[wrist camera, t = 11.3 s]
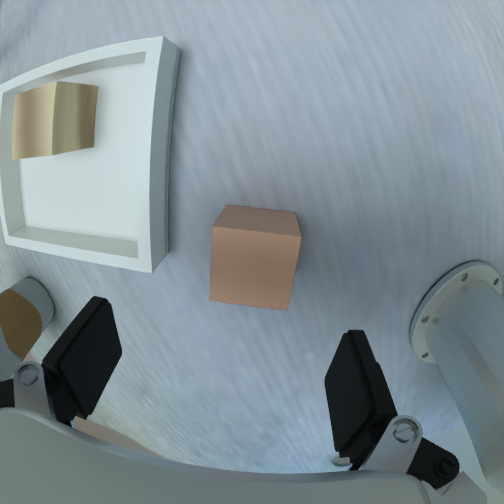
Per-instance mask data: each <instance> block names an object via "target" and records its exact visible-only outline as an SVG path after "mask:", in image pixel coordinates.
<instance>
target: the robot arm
mask: <svg viewBox="0 0 504 504" xmlns="http://www.w3.org/2000/svg"><path fill="white" fill-rule="evenodd" d="M502 293H503V287H502V280H501V277H500V275H499V273H498V272H497V271H496V270H495V269H494V268H493V267H492V266H491V265H489V264H488V263H486V262H481V261H474V262H469V263H466V264H463V265H461V266H459V267H457V268H455V269H454V270H452V271H451V272H449V273H448V274H447V275H445V276H444V277H443V278H442V279H441V280H440V281H439V282H438V283H437V284H436V285H435V286H434V287H433V288H432V289H431V290H430V292H429V293H428V294H427V295H426V297H425V298H424V300H423V301H422V303H421V304H420V306H419V308H418V310H417V312H416V314H415V315H414V318H413V321H412V324H411V328H410V344H411V347H412V349H413V351H414V353H415V355H416V356H417V357H418V358H419V359H420V360H421V361H424V362H426V363H436V364H437V365H438V367H439V369H440V371H441V373H442V375H443V377H444V379H445V381H446V383H447V385H448V387H449V390H450V392H451V394H452V396H453V398H454V400H455V402H456V405H457V407H458V409H459V411H460V414H461V416H462V418H463V421H464V423H465V426H466V428H467V430H468V433H469V435H470V438H471V441H472V443H473V446H474V449H475V452H476V454H477V457H478V460H479V463H480V466H481V469H482V472H483V474H484V476H485V479H486V480H487V482H488V483H489V484H490V485H491V486H492V487H493V488H494V489H495V490H497V491H499V492H500V493H502V494H504V298H503V297H502ZM121 355H122V347H121V344H120V340H119V336H118V332H117V328H116V324H115V319H114V315H113V310H112V306H111V304H110V303H109V302H108V300H107V299H106V298H102V297H97V296H93V297H92V298H91V299H90V301H89V302H88V303H87V304H86V305H85V307H84V308H83V309H82V310H81V311H80V313H79V314H78V315H77V316H76V317H75V319H74V320H73V321H72V322H71V324H70V325H69V326H68V327H67V329H66V330H65V331H64V332H63V334H62V335H61V336H60V337H59V339H58V340H57V341H56V343H55V344H54V345H53V347H52V348H51V349H50V351H49V352H48V353H47V355H46V356H45V357H44V359H43V360H42V361H43V363H42V364H41V365H40V364H39V363H37V362H34V361H26V362H24V363H22V364H20V365H19V366H18V367H17V368H16V370H15V372H14V376H13V378H12V379H9V380H5V381H1V382H0V504H487V496H486V495H485V493H484V492H483V491H482V490H481V489H480V488H479V487H478V486H477V485H476V484H475V483H474V482H473V481H472V480H471V479H470V478H469V477H468V476H467V475H466V473H464V471H463V472H461V473H460V472H459V462H458V459H457V458H456V456H455V455H453V454H452V453H450V452H448V451H446V450H444V449H443V448H441V447H439V446H437V445H435V444H434V443H432V442H430V441H428V440H427V439H425V438H423V437H422V435H423V431H422V427H421V425H420V423H419V422H418V421H417V420H416V419H415V418H413V417H411V416H408V415H399V416H398V414H397V411H396V408H395V405H394V402H393V399H392V397H391V394H390V391H389V388H388V385H387V383H386V380H385V377H384V374H383V372H382V369H381V367H380V365H379V363H378V362H376V360H375V358H374V355H373V352H372V350H371V347H370V345H369V342H368V340H367V337H366V335H365V332H364V331H363V330H349V331H348V332H347V333H344V334H343V336H342V338H341V341H340V343H339V346H338V348H337V351H336V353H335V355H334V358H333V360H332V362H331V365H330V367H329V369H328V372H327V374H326V376H325V390H326V395H327V401H328V407H329V414H330V420H331V426H332V433H333V440H334V447H335V450H336V452H339V455H340V458H344V457H349V458H350V463H351V465H350V466H349V467H348V469H347V470H346V471H340V472H327V473H300V474H275V473H253V472H240V471H231V470H222V469H214V468H208V467H201V466H195V465H190V464H185V463H180V462H175V461H171V460H166V459H162V458H158V457H154V456H150V455H147V454H143V453H140V452H136V451H133V450H130V449H127V448H123V447H120V446H118V445H115V444H112V443H109V442H106V441H103V440H101V439H98V438H96V437H93V436H91V435H88V434H86V433H83V432H81V431H78V430H76V428H75V425H74V421H73V419H74V417H75V416H77V417H80V418H82V419H84V420H86V419H87V416H88V415H91V414H92V413H93V411H94V409H95V407H96V405H97V402H98V400H99V398H100V396H101V394H102V392H103V390H104V388H105V386H106V384H107V382H108V380H109V379H110V377H111V375H112V373H113V371H114V369H115V367H116V365H117V363H118V361H119V359H120V358H121Z"/></svg>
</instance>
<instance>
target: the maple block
mask: <svg viewBox="0 0 504 504" xmlns="http://www.w3.org/2000/svg"><path fill="white" fill-rule="evenodd" d="M97 94H98V86H94V85H87V84H80V83H72V82H64V81H55V82H51V83H48V84H45V85H42V86H39V87H36V88H33V89H30V90H28V91H25V92H22V93H20V94H17V95H15V100H14V111H13V127H12V160H16V159H24V158H33V157H42V156H53V155H57V154H61V153H66V152H71V151H76V150H81V149H86V148H92V147H94V132H95V116H96V104H97Z"/></svg>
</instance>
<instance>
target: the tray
mask: <svg viewBox="0 0 504 504" xmlns="http://www.w3.org/2000/svg"><path fill="white" fill-rule="evenodd" d="M180 54H181V49H179V48H178V47H177V46H176V45H174V44H173V43H172V42H171V41H169V40H168V39H167V38H165V37H164V36H159V37H151V38H144V39H138V40H132V41H127V42H122V43H117V44H112V45H108V46H103V47H99V48H95V49H92V50H88V51H84V52H81V53H77V54H74V55H71V56H68V57H65V58H62V59H59V60H56V61H53V62H51V63H48V64H45V65H43V66H40V67H38V68H35V69H33V70H31V71H28V72H26V73H24V74H22V75H19V76H17V77H15V78H13V79H11V80H9V81H7V82H5V83H3V84H1V85H0V216H1V222H2V228H3V233H4V238H5V243H6V244H8V245H12V246H16V247H21V248H25V249H30V250H34V251H39V252H43V253H48V254H53V255H57V256H62V257H67V258H72V259H77V260H82V261H87V262H92V263H97V264H103V265H108V266H114V267H119V268H125V269H130V270H136V271H142V272H148V273H153V271H154V270H155V269H156V268H157V266H158V265H159V264H160V263H161V261H162V260H163V259H164V258H165V256H166V255H167V254H168V192H169V165H170V147H171V132H172V120H173V109H174V100H175V91H176V82H177V75H178V67H179V60H180ZM55 81H64V82H72V83H80V84H87V85H94V86H98V94H97V104H96V116H95V132H94V147H92V148H86V149H81V150H76V151H71V152H66V153H61V154H57V155H53V156H42V157H33V158H24V159H16V160H12V127H13V111H14V100H15V95H17V94H20V93H22V92H25V91H28V90H30V89H33V88H36V87H39V86H42V85H45V84H48V83H51V82H55Z"/></svg>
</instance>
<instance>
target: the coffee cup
mask: <svg viewBox="0 0 504 504" xmlns="http://www.w3.org/2000/svg"><path fill="white" fill-rule="evenodd" d="M53 314H54V305H53V302H52V299H51V297H50V295H49V294H48V292H47V291H46V289H45V288H44V287H43V286H42V285H41V284H40V283H39V282H38V281H37V280H35V279H33V278H24V279H22V280H20V281H19V282H18V283H16V284H15V285H13V286H12V287H10V288H9V289H7V290H5V291H4V292H2V293H1V294H0V382H1V381H5V380H9V379H10V378H11V376H12V375H13V373H14V372H15V370H16V368H17V367H18V366H19V364H20V363H21V362H22V361H23V360H24V358H25V357H26V355H27V354H28V352H29V351H30V350H31V348H32V347H33V345H34V344H35V343H36V341H37V340H38V339H39V337H40V335H41V333H42V332H43V331H44V329H45V328H46V327H47V326H48V324H49V323H50V322H51V320H52V318H53Z"/></svg>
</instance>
